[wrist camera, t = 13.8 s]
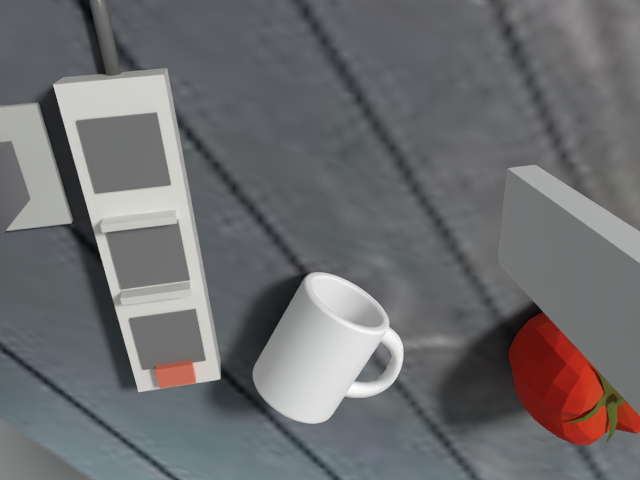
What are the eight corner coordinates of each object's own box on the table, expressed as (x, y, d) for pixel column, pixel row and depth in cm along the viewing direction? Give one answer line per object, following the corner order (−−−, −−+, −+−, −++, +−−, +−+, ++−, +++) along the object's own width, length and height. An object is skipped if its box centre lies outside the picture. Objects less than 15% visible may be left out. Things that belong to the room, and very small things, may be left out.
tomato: (504, 401, 59) (557, 483, 49) (484, 305, 52) (541, 379, 43) (624, 358, 59) (699, 432, 49) (618, 257, 52) (704, 320, 43)
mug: (249, 348, 50) (254, 410, 43) (298, 259, 47) (312, 312, 40) (360, 383, 54) (381, 445, 47) (412, 304, 51) (443, 358, 44)
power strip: (24, -65, 34) (3, -68, 30) (141, -72, 34) (133, -76, 31) (142, 373, 49) (136, 401, 46) (220, 361, 50) (220, 388, 47)
